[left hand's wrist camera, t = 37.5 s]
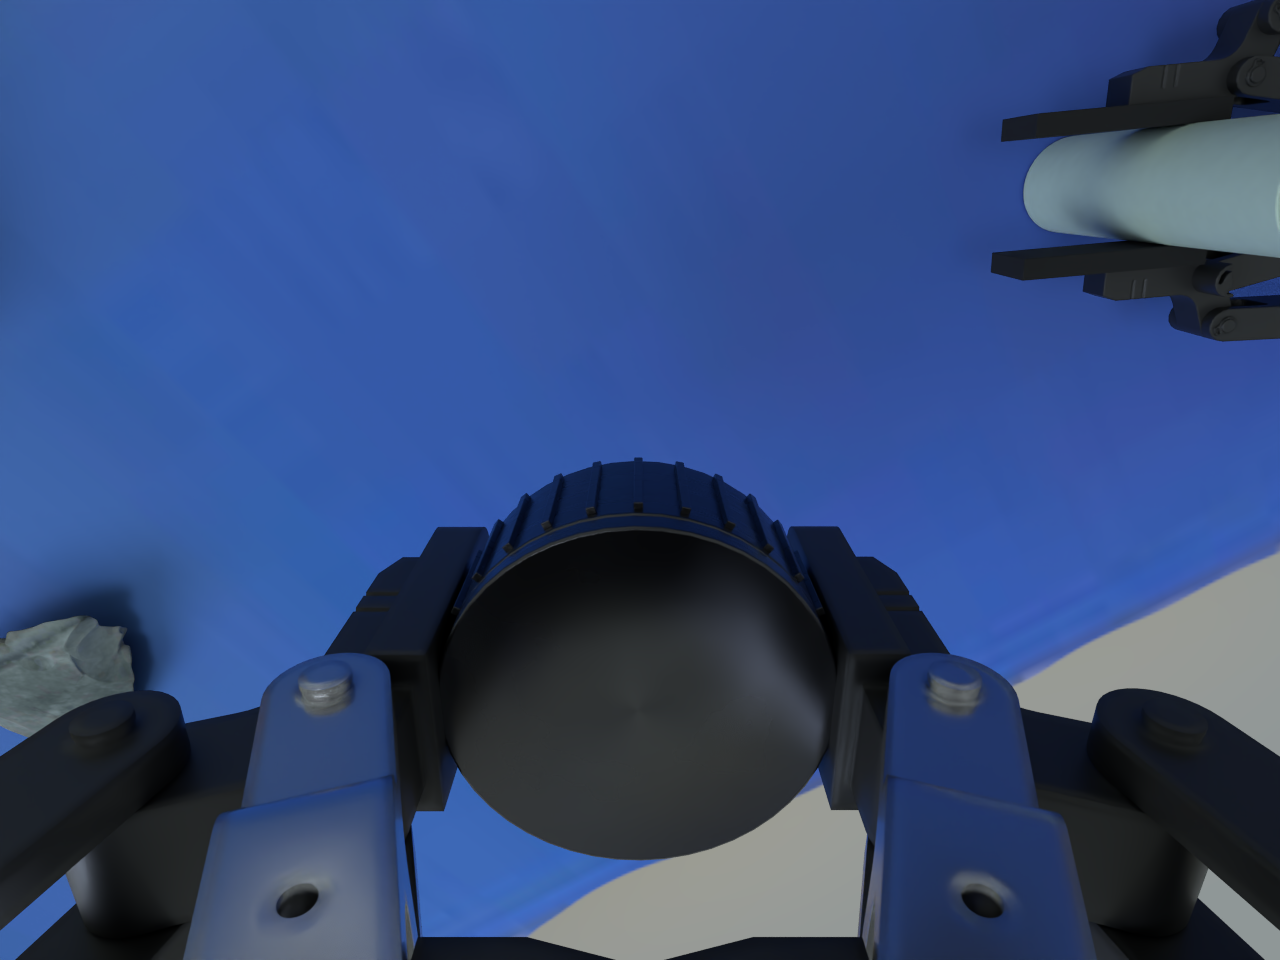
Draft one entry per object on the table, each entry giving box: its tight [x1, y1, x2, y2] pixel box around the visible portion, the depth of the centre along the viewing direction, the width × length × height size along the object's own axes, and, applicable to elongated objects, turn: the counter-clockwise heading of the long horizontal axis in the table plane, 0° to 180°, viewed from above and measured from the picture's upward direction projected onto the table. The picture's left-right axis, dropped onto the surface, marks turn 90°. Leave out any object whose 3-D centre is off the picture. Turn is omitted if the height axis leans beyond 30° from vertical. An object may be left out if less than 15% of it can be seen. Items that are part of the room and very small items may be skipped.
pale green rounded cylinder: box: [1023, 114, 1280, 258], centre depth 26 cm, size 4×4×16 cm
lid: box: [439, 458, 837, 860], centre depth 10 cm, size 5×5×2 cm
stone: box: [0, 616, 134, 737], centre depth 41 cm, size 11×4×10 cm
